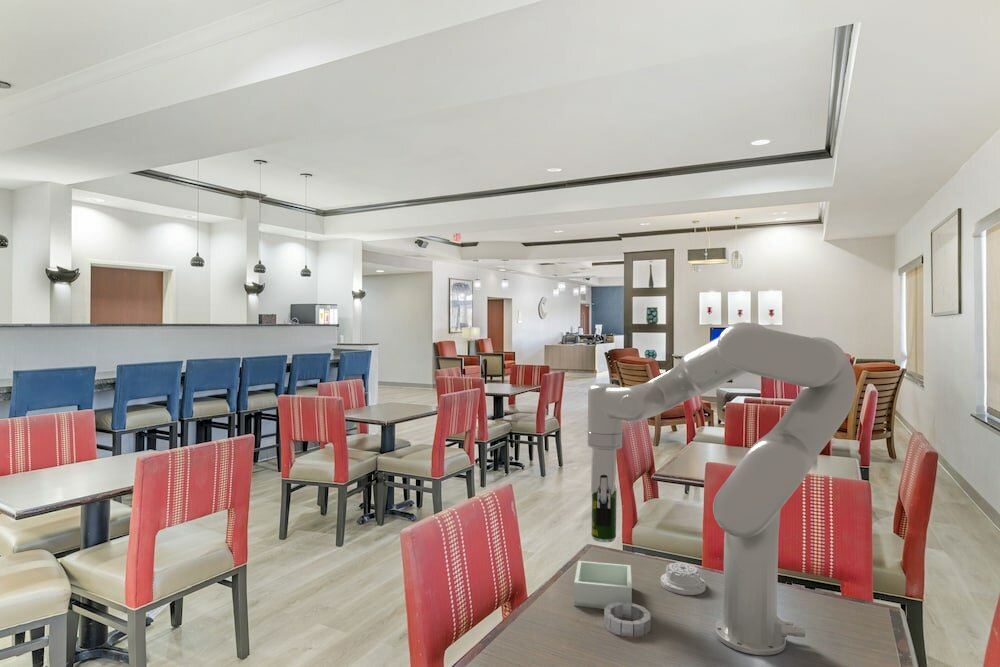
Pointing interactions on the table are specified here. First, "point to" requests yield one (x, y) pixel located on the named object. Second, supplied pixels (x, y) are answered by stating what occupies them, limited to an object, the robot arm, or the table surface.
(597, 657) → the table surface
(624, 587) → the bin
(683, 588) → the mechanical component
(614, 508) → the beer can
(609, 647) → the table surface
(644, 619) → the collar
